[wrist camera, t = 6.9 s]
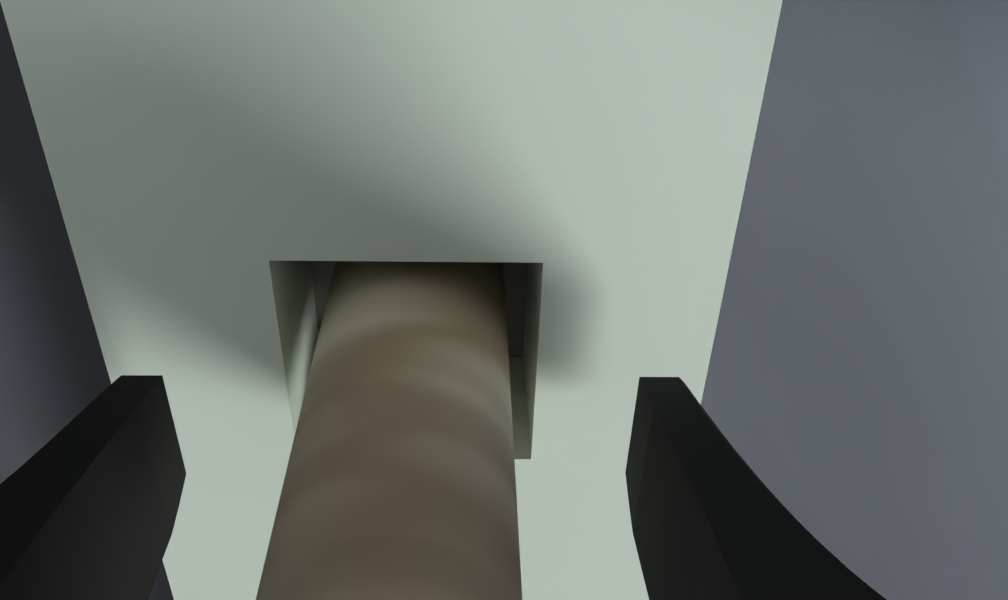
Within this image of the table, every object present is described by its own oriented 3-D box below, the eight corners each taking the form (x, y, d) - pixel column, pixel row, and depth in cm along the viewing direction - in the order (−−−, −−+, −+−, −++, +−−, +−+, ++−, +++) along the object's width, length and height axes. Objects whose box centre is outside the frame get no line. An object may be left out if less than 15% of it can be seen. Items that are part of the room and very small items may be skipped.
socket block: (729, -119, 14) (796, -71, 11) (631, 501, 22) (655, 624, 19) (80, -136, 13) (-26, -89, 11) (221, 502, 21) (182, 628, 18)
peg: (509, 197, 16) (536, 540, 10) (497, 335, 18) (510, 702, 12) (335, 187, 16) (242, 530, 10) (339, 328, 18) (263, 698, 11)
